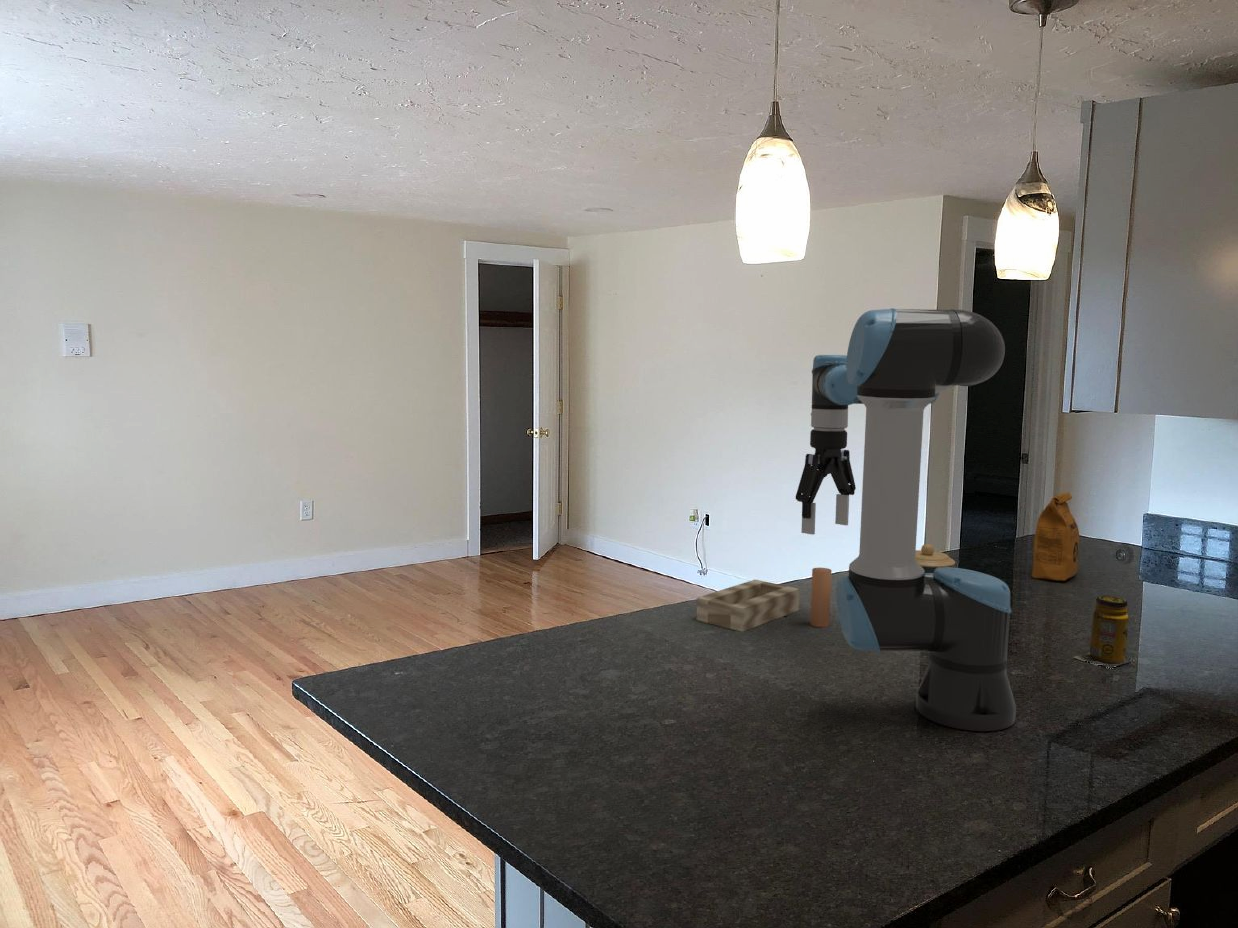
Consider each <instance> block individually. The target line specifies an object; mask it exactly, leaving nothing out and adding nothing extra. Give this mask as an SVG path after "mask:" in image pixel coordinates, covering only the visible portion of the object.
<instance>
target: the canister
mask: <svg viewBox="0 0 1238 928" xmlns="http://www.w3.org/2000/svg"><path fill="white" fill-rule="evenodd" d="M915 560H916V561H917V562H918V563H919V565H920V566H921V567H922V568H923V569H924V571H925V574H924V578H933V573H934V571H935V569H936V568H939V567H940V568H942V567H953V568H954V566H955V564H956V561H955V560H954V559H953V558H951V557H950V556H949V554H948V553H947V554H946V553H944V552H941V551H936V550H935V547H934V546H933V545H932V544H931V543H924V544H923V545H922V546H921V548H920V549H919V550H918V549H916V553H915Z"/></svg>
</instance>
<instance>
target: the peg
mask: <svg viewBox="0 0 1238 928" xmlns="http://www.w3.org/2000/svg"><path fill="white" fill-rule="evenodd" d="M811 570H812V571H811V594H810V598H811V599H810V623H809V624H810V626H813V627H816V628H828V627H830V623H831V619H830V618H831V592H832V572H833V571H832V569H831V568H828V567H813V568H812V569H811Z"/></svg>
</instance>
